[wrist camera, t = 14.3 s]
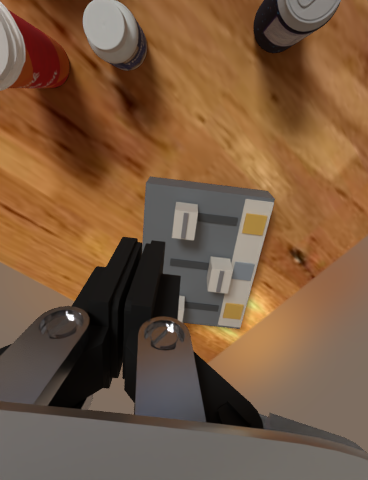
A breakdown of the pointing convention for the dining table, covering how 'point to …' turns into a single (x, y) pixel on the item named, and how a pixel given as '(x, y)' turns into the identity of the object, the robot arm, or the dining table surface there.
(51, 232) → the dining table surface
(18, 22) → the paper cup
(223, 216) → the console
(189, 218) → the slider
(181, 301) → the slider
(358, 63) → the dining table surface
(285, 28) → the beverage can
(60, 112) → the dining table surface
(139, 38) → the pill bottle
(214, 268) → the slider
